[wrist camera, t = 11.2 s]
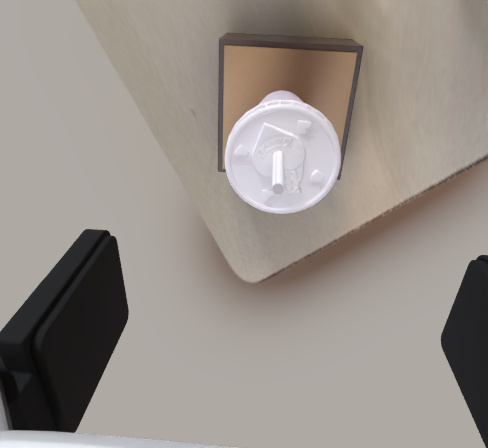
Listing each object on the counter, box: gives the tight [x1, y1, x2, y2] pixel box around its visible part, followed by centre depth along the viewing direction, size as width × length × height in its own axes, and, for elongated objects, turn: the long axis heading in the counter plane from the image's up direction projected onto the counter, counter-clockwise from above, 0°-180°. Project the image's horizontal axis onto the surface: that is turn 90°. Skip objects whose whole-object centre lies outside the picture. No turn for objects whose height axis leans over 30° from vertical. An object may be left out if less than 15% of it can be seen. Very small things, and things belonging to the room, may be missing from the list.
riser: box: [218, 33, 363, 180], centre depth 32 cm, size 10×10×5 cm
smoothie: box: [225, 91, 341, 214], centre depth 24 cm, size 6×6×14 cm
